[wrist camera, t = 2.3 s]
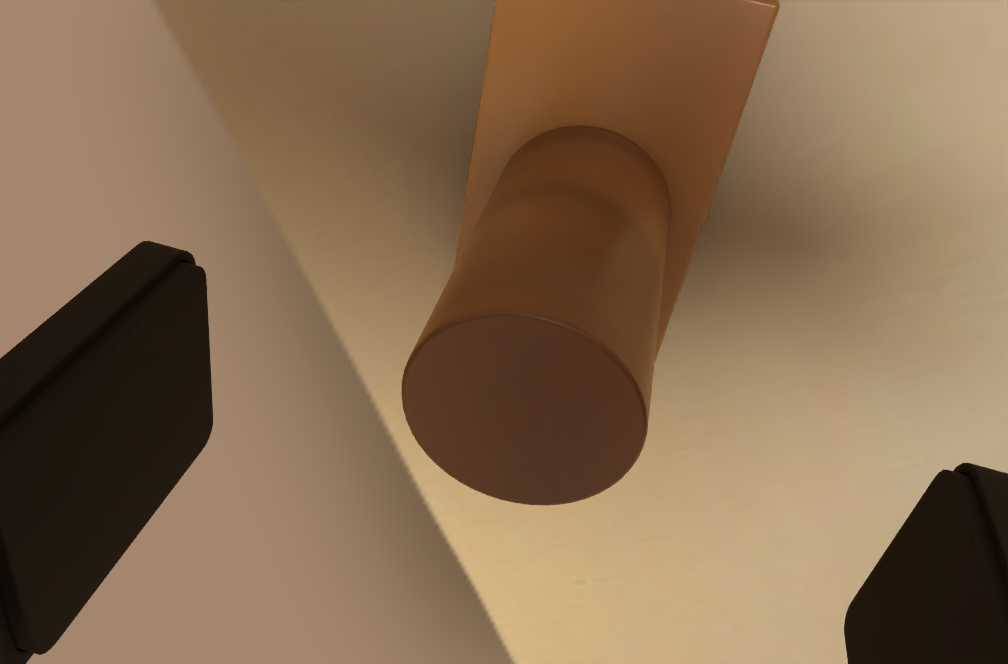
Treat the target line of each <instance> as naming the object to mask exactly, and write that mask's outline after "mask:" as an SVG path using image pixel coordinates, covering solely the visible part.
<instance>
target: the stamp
mask: <svg viewBox="0 0 1008 664" xmlns="http://www.w3.org/2000/svg"><path fill="white" fill-rule="evenodd" d="M778 10H779V0H496V2H495V9H494V15H493V22H492V28H491V35H490V41H489V48H488V54H487V60H486V67H485V73H484V80H483V86H482V93H481V99H480V106H479V112H478V118H477V125H476V131H475V138H474V144H473V151H472V157H471V164H470V170H469V176H468V183H467V189H466V196H465V202H464V209H463V215H462V222H461V228H460V234H459V241H458V247H457V254H456V260H455V267H454V270H453V272H452V274H451V276H450V278H449V280H448V282H447V284H446V286H445V288H444V290H443V292H442V294H441V296H440V298H439V300H438V302H437V304H436V306H435V308H434V310H433V312H432V314H431V316H430V318H429V320H428V322H427V324H426V326H425V328H424V330H423V332H422V334H421V336H420V338H419V340H418V342H417V344H416V346H415V348H414V350H413V352H412V354H411V356H410V357H409V360H408V362H407V365H406V367H405V370H404V375H403V379H402V402H403V409H404V413H405V416H406V420H407V423H408V425H409V427H410V429H411V432H412V434H413V435H414V437H415V439H416V440H417V442H418V444H419V445H420V446H421V448H422V449H423V450H424V451H425V453H426V454H427V455H428V456H429V457H430V458H431V459H432V460H433V461H434V462H435V463H436V464H437V465H438V466H439V467H440V468H441V469H443V470H444V471H445V472H446V473H448V474H449V475H450V476H452V477H453V478H455V479H456V480H458V481H459V482H461V483H463V484H465V485H467V486H468V487H470V488H472V489H474V490H476V491H479V492H481V493H483V494H486V495H489V496H492V497H495V498H498V499H501V500H505V501H510V502H514V503H521V504H528V505H559V504H565V503H571V502H576V501H579V500H583V499H586V498H589V497H591V496H594V495H596V494H599V493H601V492H602V491H604V490H606V489H608V488H609V487H611V486H612V485H614V484H615V483H616V482H618V481H619V480H620V479H621V478H622V477H623V476H624V475H625V474H626V473H627V472H628V471H629V470H630V469H631V468H632V466H633V465H634V463H635V462H636V460H637V459H638V457H639V455H640V453H641V451H642V449H643V447H644V443H645V439H646V436H647V428H648V418H649V409H650V400H651V390H652V381H653V371H654V363H655V360H656V357H657V355H658V352H659V349H660V346H661V343H662V340H663V338H664V335H665V332H666V329H667V326H668V323H669V320H670V318H671V315H672V312H673V309H674V306H675V303H676V301H677V298H678V295H679V292H680V289H681V286H682V283H683V281H684V278H685V275H686V272H687V269H688V266H689V264H690V261H691V258H692V255H693V252H694V249H695V246H696V244H697V241H698V238H699V235H700V232H701V229H702V226H703V224H704V221H705V218H706V215H707V212H708V209H709V207H710V204H711V201H712V198H713V195H714V192H715V189H716V187H717V184H718V181H719V178H720V175H721V172H722V170H723V167H724V164H725V161H726V158H727V155H728V152H729V150H730V147H731V144H732V141H733V138H734V135H735V133H736V130H737V127H738V124H739V121H740V118H741V115H742V113H743V110H744V107H745V104H746V101H747V98H748V95H749V93H750V90H751V87H752V84H753V81H754V78H755V76H756V73H757V70H758V67H759V64H760V61H761V58H762V56H763V53H764V50H765V47H766V44H767V41H768V39H769V36H770V33H771V30H772V27H773V24H774V21H775V19H776V16H777V13H778Z"/></svg>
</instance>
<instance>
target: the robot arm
mask: <svg viewBox="0 0 1008 664" xmlns="http://www.w3.org/2000/svg"><path fill="white" fill-rule="evenodd" d="M212 425H213V408H212V388H211V367H210V346H209V325H208V306H207V285H206V274H205V271H204V269H203V268H202V267H200V266H196V264H195V260H194V257H193V255H192V254H190V253H189V252H187V251H184V250H180V249H176V248H173V247H169V246H165V245H162V244H158V243H154V242H151V241H144V242H142V243H140V244H138V245H137V246H135V247H134V248H133V249H132V250H131V251H129V252H128V253H127V254H126V255H125V256H124V257H122V258H121V259H120V260H119V261H117V262H116V263H115V264H114V265H112V267H110V268H109V269H108V270H107V271H105V272H104V273H103V274H102V275H100V276H99V277H98V278H97V279H96V280H94V281H93V282H92V283H91V284H90V285H89V286H87V287H86V288H85V289H84V290H82V291H81V292H80V293H79V294H78V295H76V296H75V297H74V298H73V299H72V300H70V301H69V302H68V303H67V304H66V305H64V306H63V307H62V308H61V309H60V310H58V311H57V312H56V313H55V314H54V315H52V316H51V317H50V318H49V319H47V321H45V322H44V323H43V324H41V325H40V326H39V327H38V328H37V329H35V330H34V331H33V332H32V333H31V334H29V335H28V336H27V337H26V338H25V339H23V340H22V341H21V342H20V343H19V344H17V345H16V346H15V347H14V348H13V349H11V350H10V351H9V352H8V353H7V354H5V355H4V356H3V357H2V358H1V359H0V664H26V663H27V661H28V660H29V659H30V657H31V656H32V655H33V654H34V653H36V654H39V655H41V654H44V653H46V652H47V651H48V650H50V649H51V648H52V647H53V646H54V645H55V643H56V642H57V641H58V640H59V638H60V637H61V636H62V634H63V633H64V632H65V630H66V629H67V628H68V626H69V625H70V624H71V622H72V621H73V620H74V619H75V617H76V616H77V615H78V613H79V612H80V611H81V609H82V608H83V607H84V605H85V604H86V603H87V601H88V600H89V599H90V597H91V596H92V595H93V593H94V592H95V591H96V589H97V588H98V587H99V586H100V584H101V583H102V582H103V580H104V579H105V578H106V576H107V575H108V574H109V572H110V571H111V570H112V568H113V567H114V566H115V564H116V563H117V562H118V560H119V559H120V558H121V556H122V555H123V554H124V552H125V551H126V550H127V549H128V547H129V546H130V545H131V543H132V542H133V541H134V539H135V538H136V537H137V535H138V534H139V532H140V531H141V530H142V529H143V527H144V526H145V525H146V523H147V522H148V521H149V519H150V518H151V517H152V516H153V514H154V513H155V511H156V510H157V509H158V507H159V506H160V505H161V504H162V502H163V501H164V499H165V498H166V497H167V496H168V494H169V493H170V491H171V490H172V489H173V488H174V486H175V485H176V484H177V483H178V481H179V480H180V479H181V477H182V476H183V475H184V473H185V472H186V471H187V469H188V468H189V467H190V465H191V464H192V463H193V461H194V460H195V459H196V457H197V456H198V455H199V453H200V452H201V451H202V450H203V448H204V447H205V445H206V443H207V441H208V439H209V437H210V434H211V431H212ZM844 634H845V642H846V650H847V658H848V664H1008V474H1007V473H1003V472H1000V471H996V470H992V469H989V468H985V467H981V466H978V465H974V464H970V463H962V464H961V465H959V466H957V467H956V468H955V469H954V471H950V470H942V471H941V472H939V473H938V474H937V476H936V477H935V478H934V480H933V481H932V482H931V484H930V485H929V487H928V488H927V490H926V491H925V493H924V494H923V496H922V497H921V499H920V500H919V502H918V503H917V505H916V506H915V508H914V509H913V511H912V512H911V514H910V515H909V517H908V518H907V520H906V521H905V523H904V524H903V526H902V527H901V529H900V530H899V532H898V533H897V535H896V536H895V538H894V539H893V541H892V542H891V544H890V545H889V547H888V548H887V550H886V551H885V553H884V554H883V556H882V557H881V559H880V560H879V562H878V563H877V565H876V566H875V568H874V569H873V571H872V572H871V574H870V575H869V577H868V578H867V579H866V581H865V582H864V584H863V585H862V587H861V588H860V590H859V591H858V593H857V594H856V596H855V597H854V599H853V600H852V602H851V604H850V606H849V608H848V610H847V613H846V618H845V625H844Z"/></svg>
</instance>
